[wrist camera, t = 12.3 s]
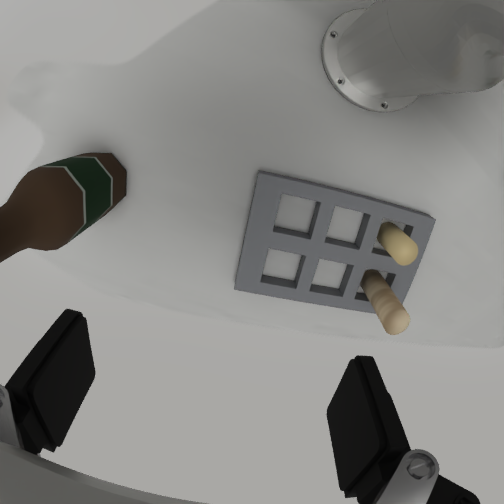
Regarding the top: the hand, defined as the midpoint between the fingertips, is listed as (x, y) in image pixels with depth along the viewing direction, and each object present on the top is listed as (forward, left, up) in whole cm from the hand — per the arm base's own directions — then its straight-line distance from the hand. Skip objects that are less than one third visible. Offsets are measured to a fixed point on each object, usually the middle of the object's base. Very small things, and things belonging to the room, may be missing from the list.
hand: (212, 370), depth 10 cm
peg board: (-5, +12, -28) cm, 31 cm away
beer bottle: (+13, -12, -28) cm, 33 cm away
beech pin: (-6, +19, -28) cm, 34 cm away
